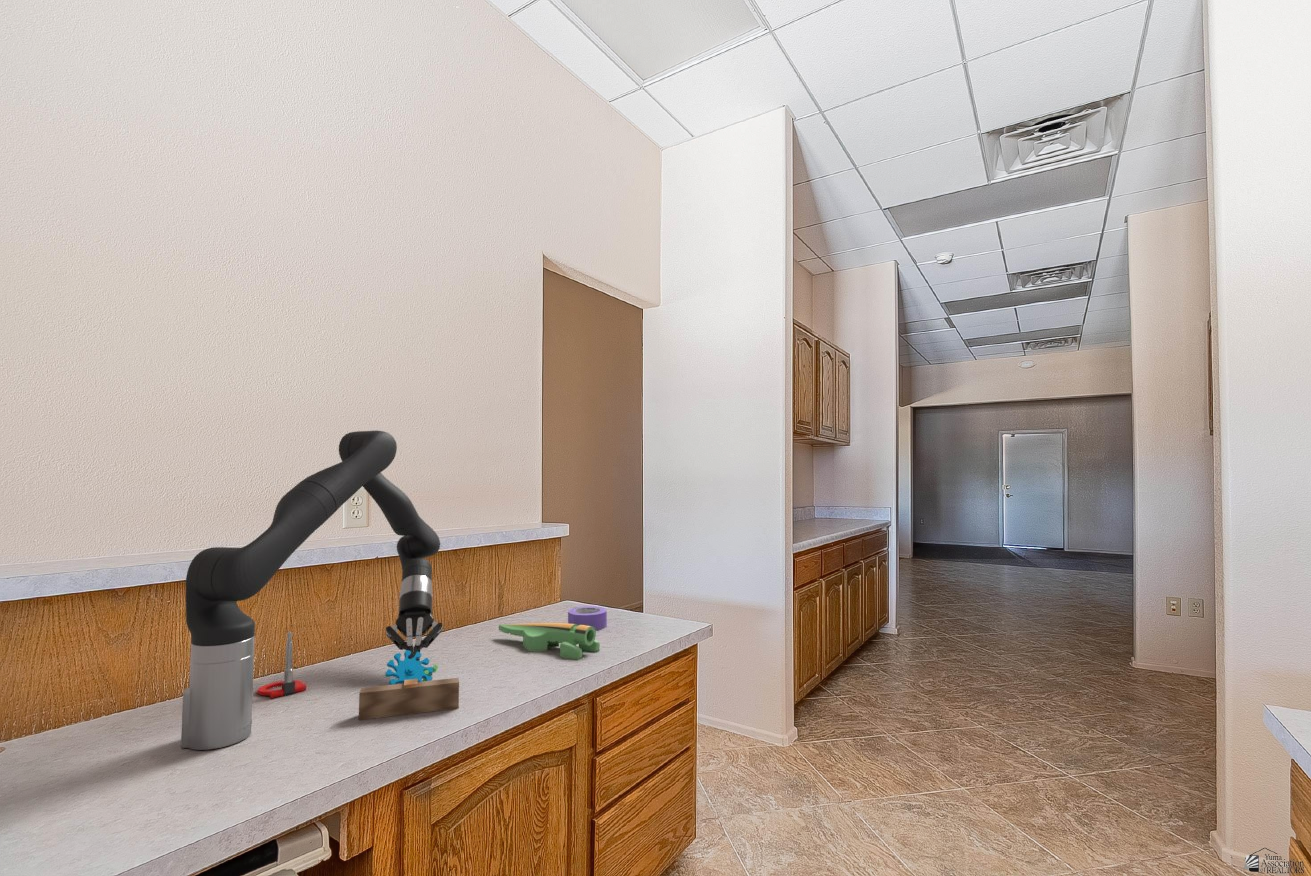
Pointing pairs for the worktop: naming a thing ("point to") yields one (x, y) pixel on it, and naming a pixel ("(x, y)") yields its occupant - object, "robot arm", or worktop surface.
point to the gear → (409, 669)
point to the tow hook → (288, 684)
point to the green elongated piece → (555, 637)
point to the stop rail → (408, 698)
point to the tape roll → (588, 616)
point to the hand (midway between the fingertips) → (413, 663)
